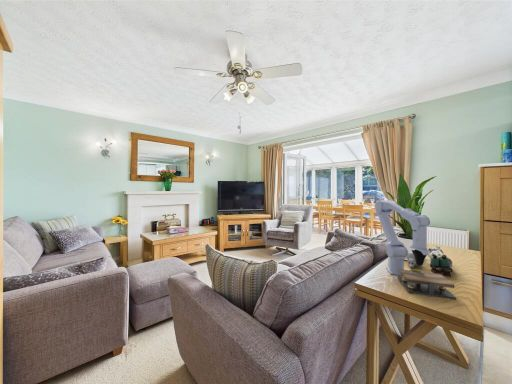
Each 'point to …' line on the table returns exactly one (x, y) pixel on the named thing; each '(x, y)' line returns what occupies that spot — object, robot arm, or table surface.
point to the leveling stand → (426, 289)
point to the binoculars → (440, 265)
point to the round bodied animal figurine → (411, 259)
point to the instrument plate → (425, 278)
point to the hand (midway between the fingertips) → (419, 264)
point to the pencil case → (438, 254)
